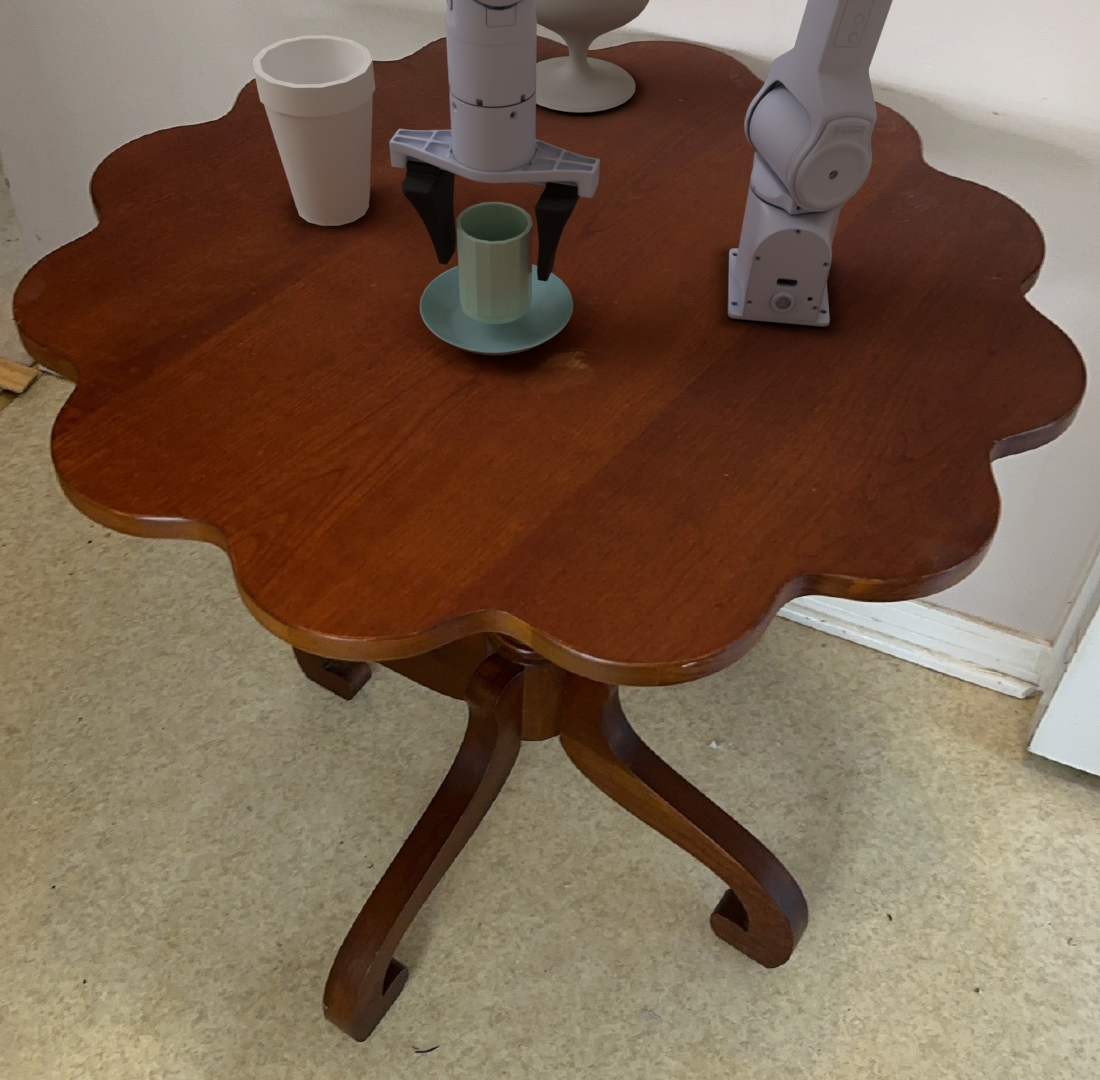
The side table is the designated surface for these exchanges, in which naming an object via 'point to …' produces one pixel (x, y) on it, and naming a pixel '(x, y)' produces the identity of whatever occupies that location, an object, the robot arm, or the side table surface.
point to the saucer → (496, 339)
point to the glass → (494, 262)
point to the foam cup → (321, 122)
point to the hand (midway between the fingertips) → (496, 265)
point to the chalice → (583, 55)
